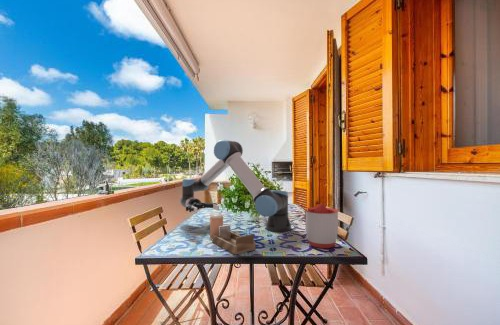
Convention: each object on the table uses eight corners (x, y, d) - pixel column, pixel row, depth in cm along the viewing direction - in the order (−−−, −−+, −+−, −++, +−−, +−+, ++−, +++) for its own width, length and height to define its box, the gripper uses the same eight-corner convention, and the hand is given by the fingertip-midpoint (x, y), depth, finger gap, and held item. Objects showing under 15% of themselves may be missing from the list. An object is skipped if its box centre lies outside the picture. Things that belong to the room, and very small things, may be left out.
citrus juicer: (306, 238, 134) (306, 200, 134) (341, 242, 126) (340, 202, 126) (297, 246, 120) (297, 204, 120) (335, 252, 112) (335, 207, 112)
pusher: (218, 239, 128) (218, 226, 128) (229, 237, 131) (229, 224, 132) (220, 240, 127) (220, 226, 127) (230, 238, 130) (230, 225, 131)
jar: (223, 235, 140) (223, 213, 140) (223, 239, 133) (222, 216, 133) (210, 235, 140) (210, 214, 140) (209, 239, 133) (209, 216, 133)
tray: (212, 242, 129) (212, 228, 129) (231, 238, 135) (231, 225, 135) (235, 254, 110) (235, 238, 110) (255, 249, 117) (255, 234, 117)
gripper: (211, 207, 169) (227, 213, 152) (174, 212, 155) (186, 218, 138) (211, 196, 169) (227, 200, 152) (174, 199, 155) (187, 204, 138)
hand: (208, 209), depth 145 cm, fingers open, 13 cm apart
